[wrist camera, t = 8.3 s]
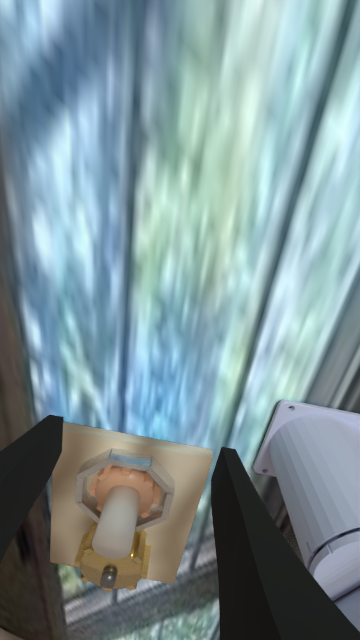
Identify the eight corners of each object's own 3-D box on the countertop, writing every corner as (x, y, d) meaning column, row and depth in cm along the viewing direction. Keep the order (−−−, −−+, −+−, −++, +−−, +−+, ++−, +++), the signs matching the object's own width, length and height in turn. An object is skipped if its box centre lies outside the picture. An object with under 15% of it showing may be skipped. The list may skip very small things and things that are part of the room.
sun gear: (155, 526, 26) (150, 568, 23) (145, 567, 29) (139, 610, 26) (85, 513, 26) (70, 553, 23) (81, 556, 29) (67, 598, 25)
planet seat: (180, 460, 23) (180, 472, 22) (164, 523, 26) (163, 536, 25) (83, 442, 23) (78, 453, 22) (78, 507, 26) (73, 520, 25)
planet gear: (163, 464, 23) (156, 525, 19) (157, 511, 26) (148, 576, 21) (94, 455, 23) (69, 513, 19) (93, 502, 26) (71, 565, 21)
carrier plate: (212, 449, 24) (212, 458, 23) (173, 572, 31) (173, 583, 30) (58, 421, 24) (53, 429, 23) (54, 551, 30) (50, 562, 29)
